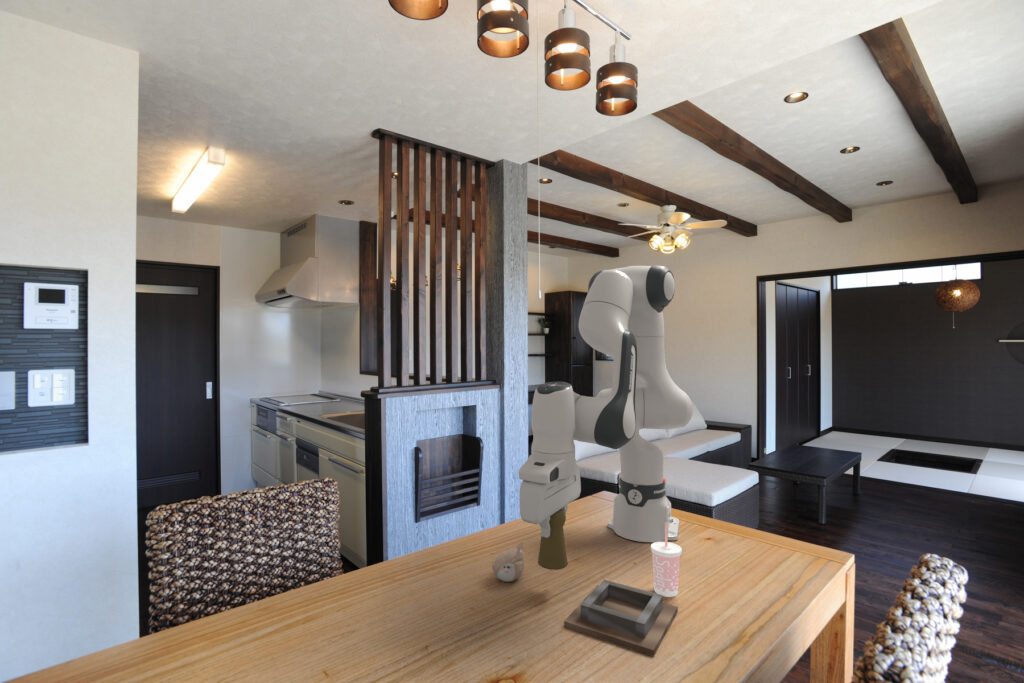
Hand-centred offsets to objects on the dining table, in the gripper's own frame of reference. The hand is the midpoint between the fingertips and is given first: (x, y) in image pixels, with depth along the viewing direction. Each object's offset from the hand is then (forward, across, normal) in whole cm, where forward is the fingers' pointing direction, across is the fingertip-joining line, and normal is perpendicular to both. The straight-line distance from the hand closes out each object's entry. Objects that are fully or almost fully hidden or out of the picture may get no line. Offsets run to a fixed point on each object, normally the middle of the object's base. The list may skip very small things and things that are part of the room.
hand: (552, 531), depth 101 cm
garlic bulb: (+13, 0, -11) cm, 17 cm away
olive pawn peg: (+7, 0, 0) cm, 7 cm away
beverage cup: (+13, -13, +19) cm, 27 cm away
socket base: (+12, +2, +15) cm, 20 cm away
